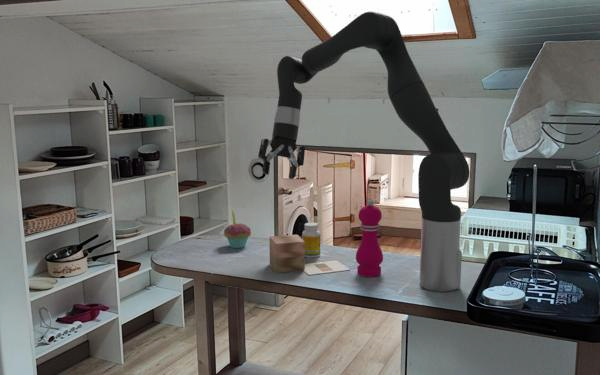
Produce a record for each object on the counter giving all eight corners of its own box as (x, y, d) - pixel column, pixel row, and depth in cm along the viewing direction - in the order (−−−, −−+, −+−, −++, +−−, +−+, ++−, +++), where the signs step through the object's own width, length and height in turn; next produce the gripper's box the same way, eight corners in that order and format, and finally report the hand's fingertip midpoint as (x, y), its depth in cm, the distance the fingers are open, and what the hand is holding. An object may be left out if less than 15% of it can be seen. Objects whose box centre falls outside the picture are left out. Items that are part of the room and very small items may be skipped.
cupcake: (240, 251, 170) (239, 212, 168) (218, 247, 175) (217, 209, 173) (256, 244, 177) (255, 207, 175) (235, 241, 182) (234, 205, 180)
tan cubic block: (297, 261, 159) (297, 234, 158) (304, 270, 152) (304, 241, 150) (269, 264, 157) (269, 236, 156) (276, 272, 149) (275, 243, 148)
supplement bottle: (300, 253, 167) (300, 222, 166) (317, 252, 168) (317, 221, 167) (304, 258, 162) (304, 226, 160) (322, 257, 163) (322, 225, 162)
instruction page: (336, 261, 160) (336, 260, 160) (350, 270, 151) (350, 269, 151) (297, 265, 155) (297, 264, 155) (308, 275, 147) (308, 274, 147)
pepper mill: (382, 278, 144) (383, 202, 141) (354, 277, 146) (354, 201, 142) (383, 270, 151) (385, 197, 148) (356, 268, 153) (357, 196, 149)
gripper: (270, 118, 162) (262, 173, 162) (312, 127, 169) (305, 180, 168) (260, 119, 169) (252, 172, 168) (301, 128, 175) (293, 179, 175)
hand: (278, 176), depth 168 cm, fingers open, 8 cm apart
